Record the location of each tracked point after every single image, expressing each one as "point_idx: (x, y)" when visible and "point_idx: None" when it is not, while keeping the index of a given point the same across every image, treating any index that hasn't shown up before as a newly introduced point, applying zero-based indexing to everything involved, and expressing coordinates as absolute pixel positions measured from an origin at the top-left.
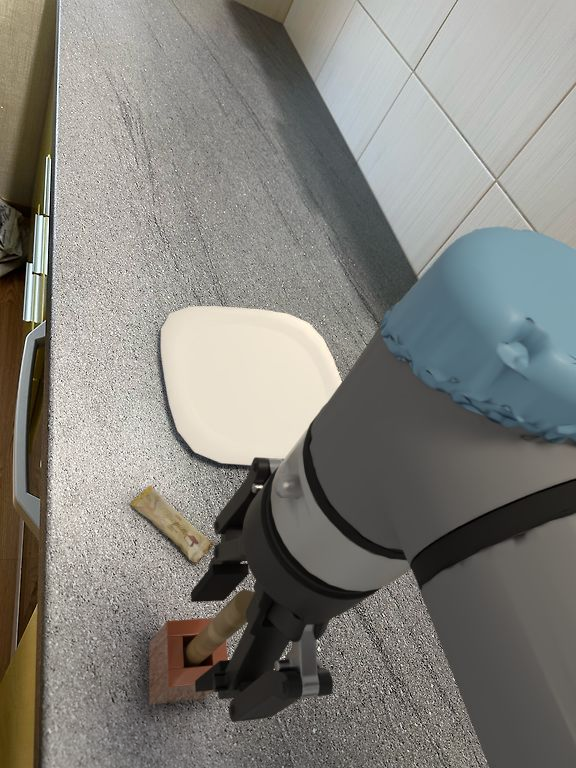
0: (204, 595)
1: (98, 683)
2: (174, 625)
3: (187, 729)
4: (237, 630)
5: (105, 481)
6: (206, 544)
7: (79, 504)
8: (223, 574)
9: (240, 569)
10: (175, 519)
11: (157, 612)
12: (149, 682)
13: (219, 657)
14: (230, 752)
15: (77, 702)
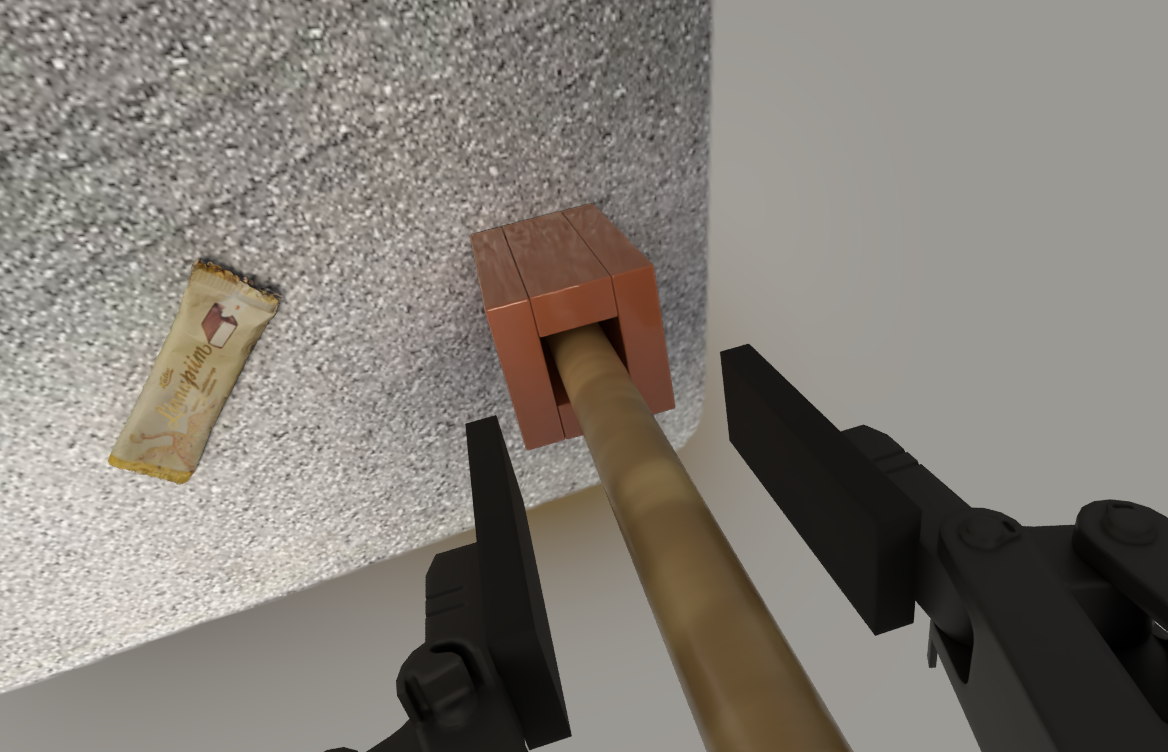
0: (525, 522)
1: None
2: (534, 431)
3: (653, 228)
4: (742, 565)
5: (155, 537)
6: (207, 278)
7: (243, 559)
8: (561, 706)
9: (526, 667)
10: (176, 383)
11: (429, 346)
12: None
13: (597, 303)
14: (693, 119)
15: None
